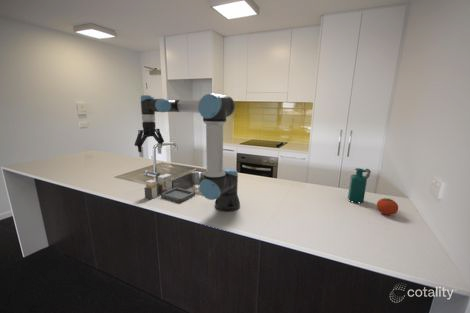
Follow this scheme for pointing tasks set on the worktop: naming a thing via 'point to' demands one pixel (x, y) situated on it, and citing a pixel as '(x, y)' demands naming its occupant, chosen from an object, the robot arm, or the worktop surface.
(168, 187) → the ink box
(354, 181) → the green bottle
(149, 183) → the clip holder
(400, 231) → the worktop surface
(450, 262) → the worktop surface
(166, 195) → the tray
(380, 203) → the tomato
